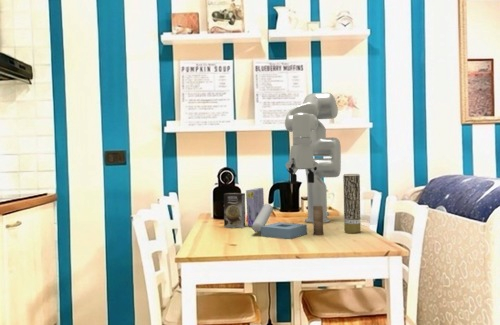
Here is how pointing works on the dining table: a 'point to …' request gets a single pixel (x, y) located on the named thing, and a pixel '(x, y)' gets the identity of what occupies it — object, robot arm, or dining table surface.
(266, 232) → the socket
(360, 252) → the dining table surface
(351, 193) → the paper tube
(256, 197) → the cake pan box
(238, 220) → the coffee box
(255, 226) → the tube
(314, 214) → the peg
